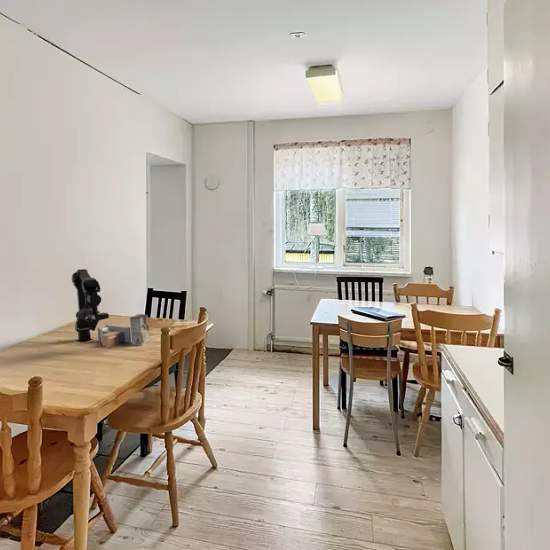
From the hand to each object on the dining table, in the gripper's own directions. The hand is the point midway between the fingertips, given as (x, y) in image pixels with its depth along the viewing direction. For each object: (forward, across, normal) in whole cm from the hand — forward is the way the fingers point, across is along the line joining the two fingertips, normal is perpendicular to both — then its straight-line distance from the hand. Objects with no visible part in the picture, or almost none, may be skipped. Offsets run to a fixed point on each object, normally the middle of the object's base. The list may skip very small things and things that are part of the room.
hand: (93, 330), depth 224 cm
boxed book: (+11, 0, +12) cm, 17 cm away
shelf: (+11, -1, +15) cm, 19 cm away
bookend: (+11, +6, +15) cm, 19 cm away
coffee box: (+11, +14, +20) cm, 27 cm away
